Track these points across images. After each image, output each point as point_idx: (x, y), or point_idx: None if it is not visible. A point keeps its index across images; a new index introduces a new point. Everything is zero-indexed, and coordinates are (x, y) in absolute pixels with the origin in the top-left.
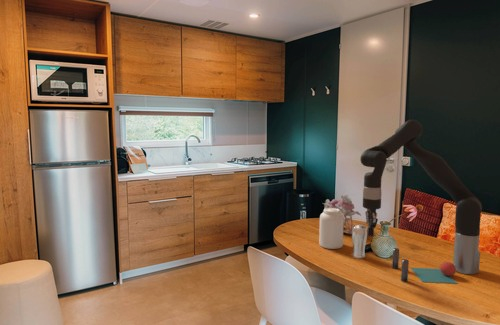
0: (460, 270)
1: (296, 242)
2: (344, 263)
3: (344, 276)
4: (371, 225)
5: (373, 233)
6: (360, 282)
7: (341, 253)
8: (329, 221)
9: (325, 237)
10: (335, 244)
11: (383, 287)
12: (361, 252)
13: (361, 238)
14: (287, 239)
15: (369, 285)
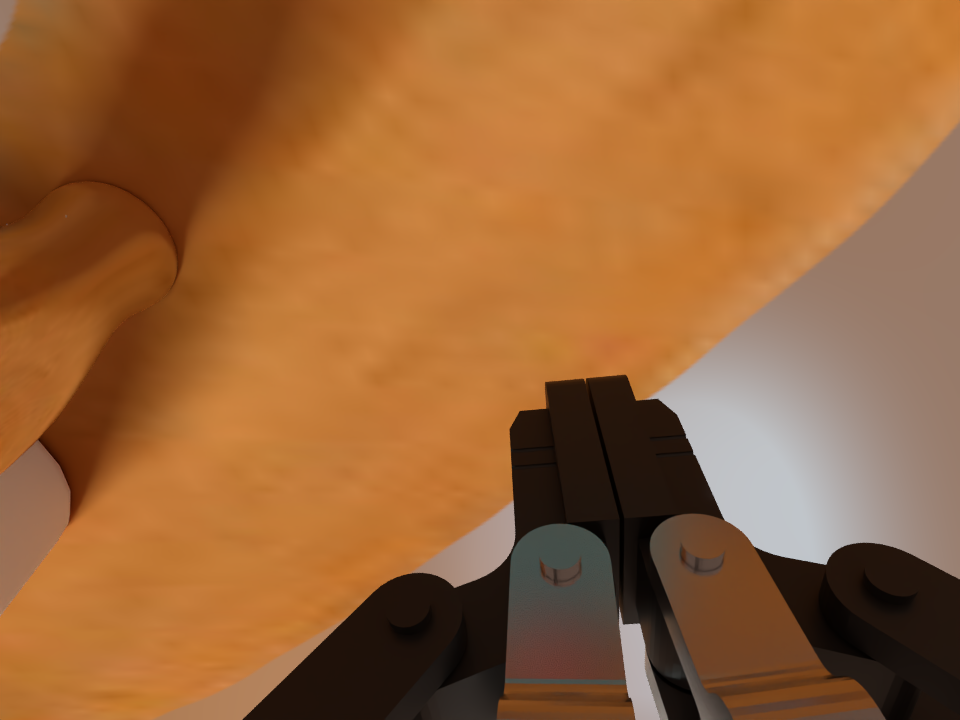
0: None
1: (67, 667)
2: (361, 380)
3: (639, 388)
4: (912, 714)
5: (636, 409)
6: (752, 275)
7: (123, 396)
8: None
9: (10, 596)
10: (17, 475)
11: (870, 68)
12: (124, 249)
13: (39, 348)
14: (42, 709)
15: (816, 203)
